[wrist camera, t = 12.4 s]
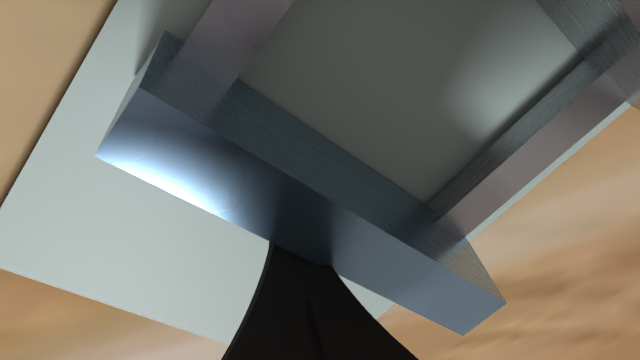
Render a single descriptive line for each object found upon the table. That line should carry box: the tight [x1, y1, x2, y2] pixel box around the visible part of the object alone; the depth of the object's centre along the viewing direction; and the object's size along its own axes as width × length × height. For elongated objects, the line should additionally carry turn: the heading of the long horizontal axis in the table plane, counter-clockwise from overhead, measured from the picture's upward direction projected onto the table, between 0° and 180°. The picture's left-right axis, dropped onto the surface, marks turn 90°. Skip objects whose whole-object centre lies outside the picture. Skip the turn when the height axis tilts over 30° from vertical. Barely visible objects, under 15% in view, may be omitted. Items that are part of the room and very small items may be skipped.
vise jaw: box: [95, 0, 640, 335], centre depth 9 cm, size 10×9×4 cm
